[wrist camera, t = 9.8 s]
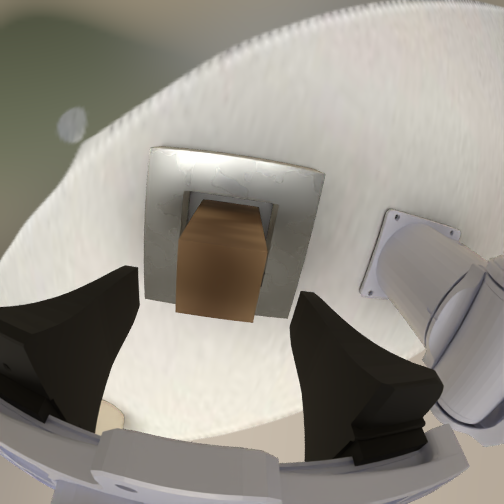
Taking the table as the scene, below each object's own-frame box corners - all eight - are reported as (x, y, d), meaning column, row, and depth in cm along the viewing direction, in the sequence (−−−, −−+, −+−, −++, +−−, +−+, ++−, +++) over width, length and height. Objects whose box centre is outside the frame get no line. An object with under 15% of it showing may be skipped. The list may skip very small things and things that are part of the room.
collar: (315, 169, 18) (325, 173, 16) (283, 300, 23) (287, 318, 20) (161, 146, 17) (150, 147, 15) (153, 282, 22) (144, 298, 19)
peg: (258, 207, 19) (267, 252, 12) (249, 257, 21) (252, 322, 14) (203, 199, 19) (178, 239, 12) (197, 250, 21) (175, 312, 13)
